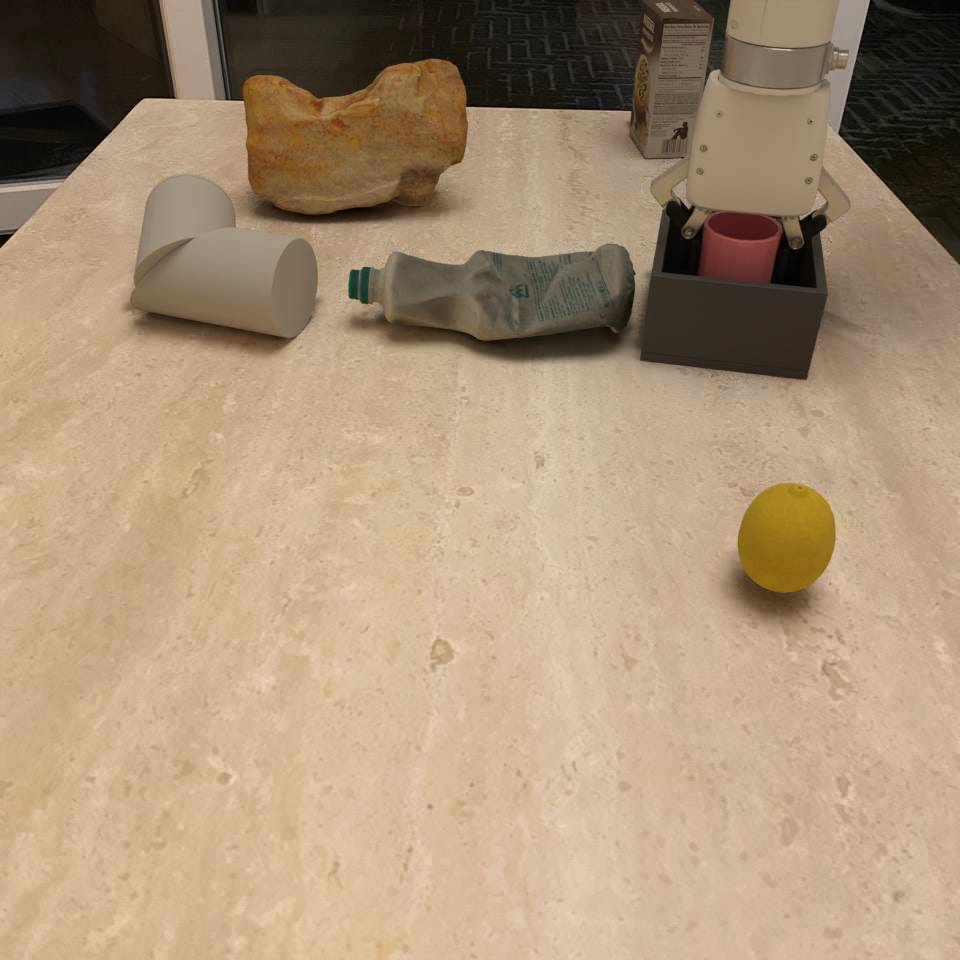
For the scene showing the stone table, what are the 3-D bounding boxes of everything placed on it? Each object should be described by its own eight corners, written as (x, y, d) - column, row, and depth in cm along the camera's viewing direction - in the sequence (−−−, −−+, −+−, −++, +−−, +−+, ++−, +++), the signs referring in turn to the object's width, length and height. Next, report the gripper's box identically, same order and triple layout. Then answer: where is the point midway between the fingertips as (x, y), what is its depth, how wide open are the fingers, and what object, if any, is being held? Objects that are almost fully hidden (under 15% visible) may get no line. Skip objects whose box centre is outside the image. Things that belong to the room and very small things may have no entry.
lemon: (721, 605, 61) (743, 503, 56) (736, 549, 65) (758, 450, 60) (813, 629, 60) (845, 527, 55) (823, 570, 64) (853, 470, 59)
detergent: (626, 288, 94) (360, 277, 94) (636, 219, 89) (356, 207, 89) (638, 372, 84) (342, 359, 84) (650, 299, 79) (336, 286, 79)
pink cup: (722, 298, 91) (738, 203, 86) (778, 326, 87) (799, 228, 82) (673, 318, 88) (687, 222, 82) (729, 348, 84) (747, 248, 79)
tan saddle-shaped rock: (468, 173, 119) (464, 38, 111) (471, 218, 105) (466, 67, 97) (273, 179, 119) (255, 44, 111) (249, 225, 105) (226, 74, 97)
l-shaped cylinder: (56, 314, 86) (263, 354, 81) (43, 189, 82) (261, 223, 77) (175, 271, 102) (354, 303, 97) (169, 164, 97) (357, 191, 92)
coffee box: (626, 134, 128) (640, -3, 118) (675, 132, 129) (693, -3, 119) (643, 159, 121) (659, 16, 111) (695, 158, 122) (716, 15, 112)
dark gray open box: (652, 287, 94) (662, 208, 90) (800, 303, 92) (818, 223, 88) (640, 360, 84) (650, 275, 79) (806, 379, 82) (828, 293, 77)
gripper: (889, 56, 76) (834, 273, 87) (659, 40, 79) (634, 252, 89) (900, 85, 70) (841, 313, 81) (651, 67, 73) (626, 290, 84)
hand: (733, 279), depth 85 cm, fingers closed on pink cup, 6 cm apart
